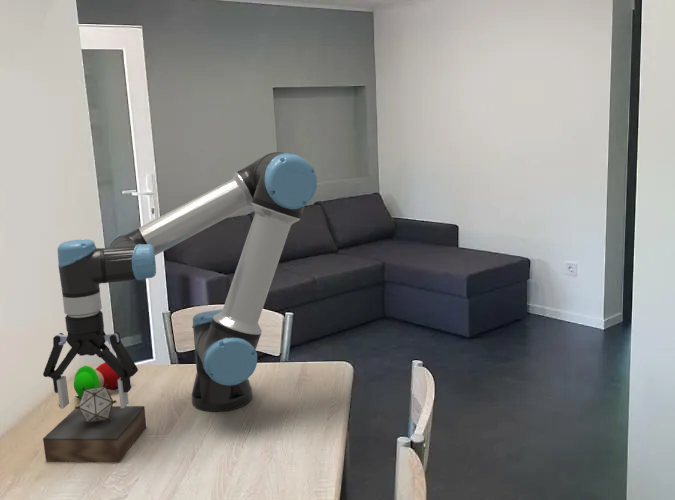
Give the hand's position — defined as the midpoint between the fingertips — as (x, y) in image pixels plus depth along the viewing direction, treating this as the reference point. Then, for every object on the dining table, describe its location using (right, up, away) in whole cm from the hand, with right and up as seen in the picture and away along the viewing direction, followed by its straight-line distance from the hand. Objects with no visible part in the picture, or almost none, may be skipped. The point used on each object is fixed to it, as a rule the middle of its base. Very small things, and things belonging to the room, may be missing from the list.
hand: (94, 405), depth 148 cm
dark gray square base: (0, -9, +2) cm, 9 cm away
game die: (+1, -4, +1) cm, 4 cm away
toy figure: (-8, -4, +30) cm, 31 cm away
